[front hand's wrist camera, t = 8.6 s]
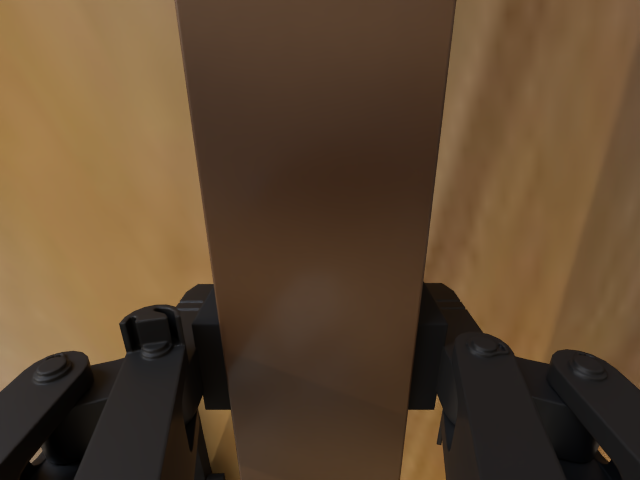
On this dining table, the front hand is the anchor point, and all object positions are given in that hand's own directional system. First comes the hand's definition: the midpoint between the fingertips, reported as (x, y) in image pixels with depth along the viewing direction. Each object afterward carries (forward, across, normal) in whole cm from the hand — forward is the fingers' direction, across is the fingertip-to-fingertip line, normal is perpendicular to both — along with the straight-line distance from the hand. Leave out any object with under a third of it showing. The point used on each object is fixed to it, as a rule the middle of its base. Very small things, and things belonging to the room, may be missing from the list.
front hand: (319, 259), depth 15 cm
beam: (+1, 0, -29) cm, 29 cm away
